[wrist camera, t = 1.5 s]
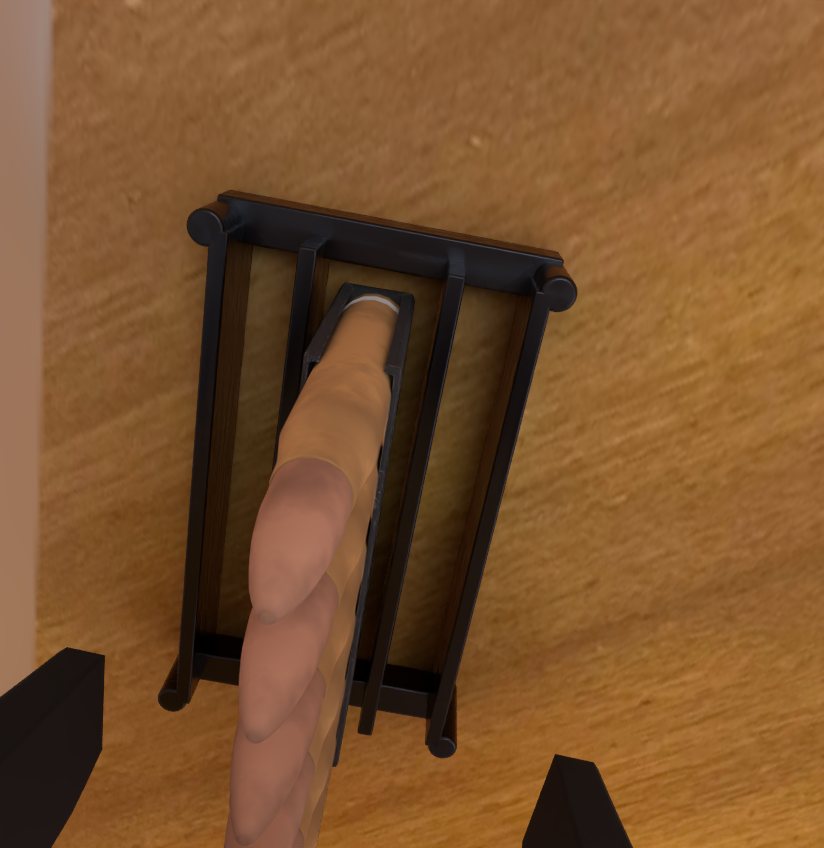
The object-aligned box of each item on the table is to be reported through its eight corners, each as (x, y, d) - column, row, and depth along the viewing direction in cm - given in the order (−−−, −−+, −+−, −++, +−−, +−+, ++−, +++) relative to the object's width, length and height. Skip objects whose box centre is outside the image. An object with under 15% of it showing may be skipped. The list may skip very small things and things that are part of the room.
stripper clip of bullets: (341, 280, 19) (185, 531, 8) (416, 293, 19) (361, 560, 8) (299, 629, 23) (157, 1111, 12) (360, 639, 23) (273, 1128, 12)
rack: (184, 653, 24) (156, 713, 22) (220, 187, 18) (186, 200, 16) (453, 700, 24) (453, 764, 22) (567, 253, 19) (583, 275, 16)
